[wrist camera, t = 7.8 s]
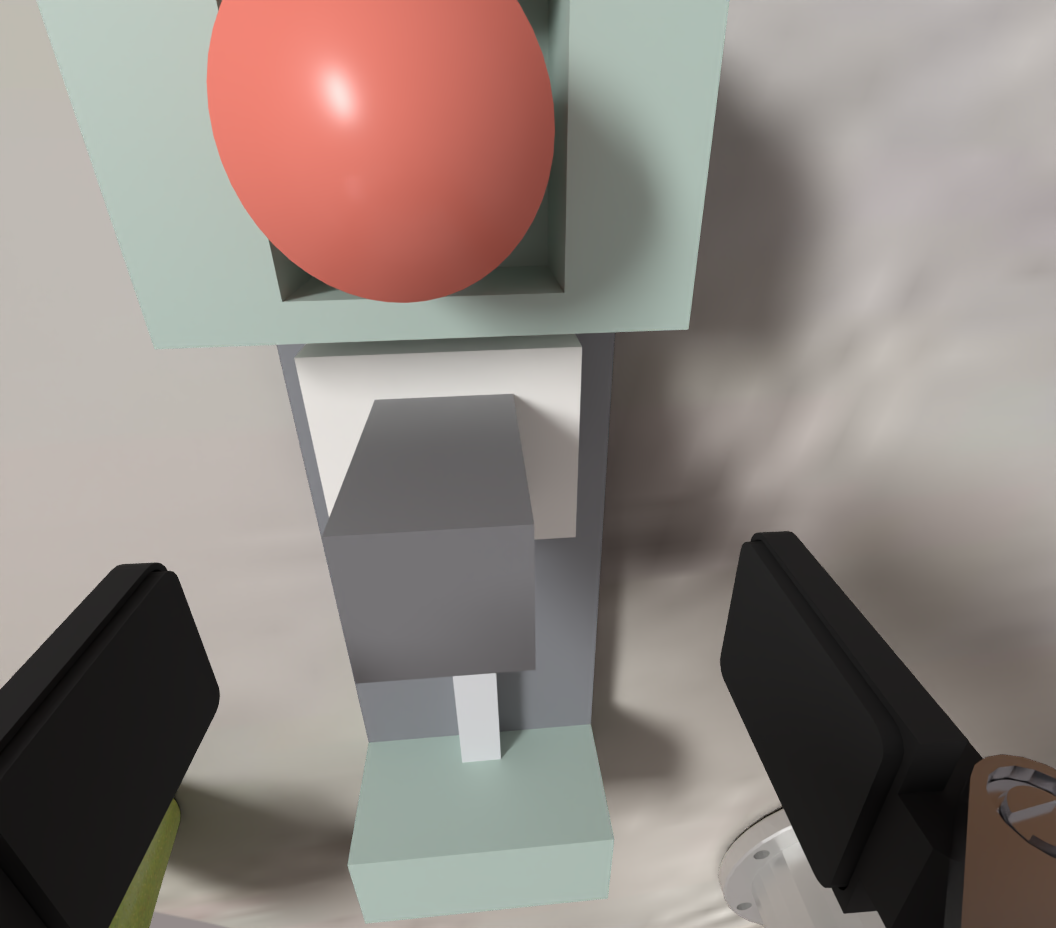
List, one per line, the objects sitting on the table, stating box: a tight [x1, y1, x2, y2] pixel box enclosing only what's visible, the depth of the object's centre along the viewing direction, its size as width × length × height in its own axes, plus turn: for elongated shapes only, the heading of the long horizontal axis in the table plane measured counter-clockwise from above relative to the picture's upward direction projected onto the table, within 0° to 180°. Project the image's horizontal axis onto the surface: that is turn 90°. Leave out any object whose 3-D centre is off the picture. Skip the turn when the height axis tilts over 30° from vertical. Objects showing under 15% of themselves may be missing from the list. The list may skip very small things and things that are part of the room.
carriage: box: [294, 334, 582, 684], centre depth 12 cm, size 5×6×7 cm
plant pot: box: [109, 798, 181, 928], centre depth 22 cm, size 9×9×9 cm
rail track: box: [36, 0, 729, 924], centre depth 17 cm, size 28×9×7 cm, turn 1°
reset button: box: [206, 0, 555, 303], centre depth 7 cm, size 4×4×3 cm
